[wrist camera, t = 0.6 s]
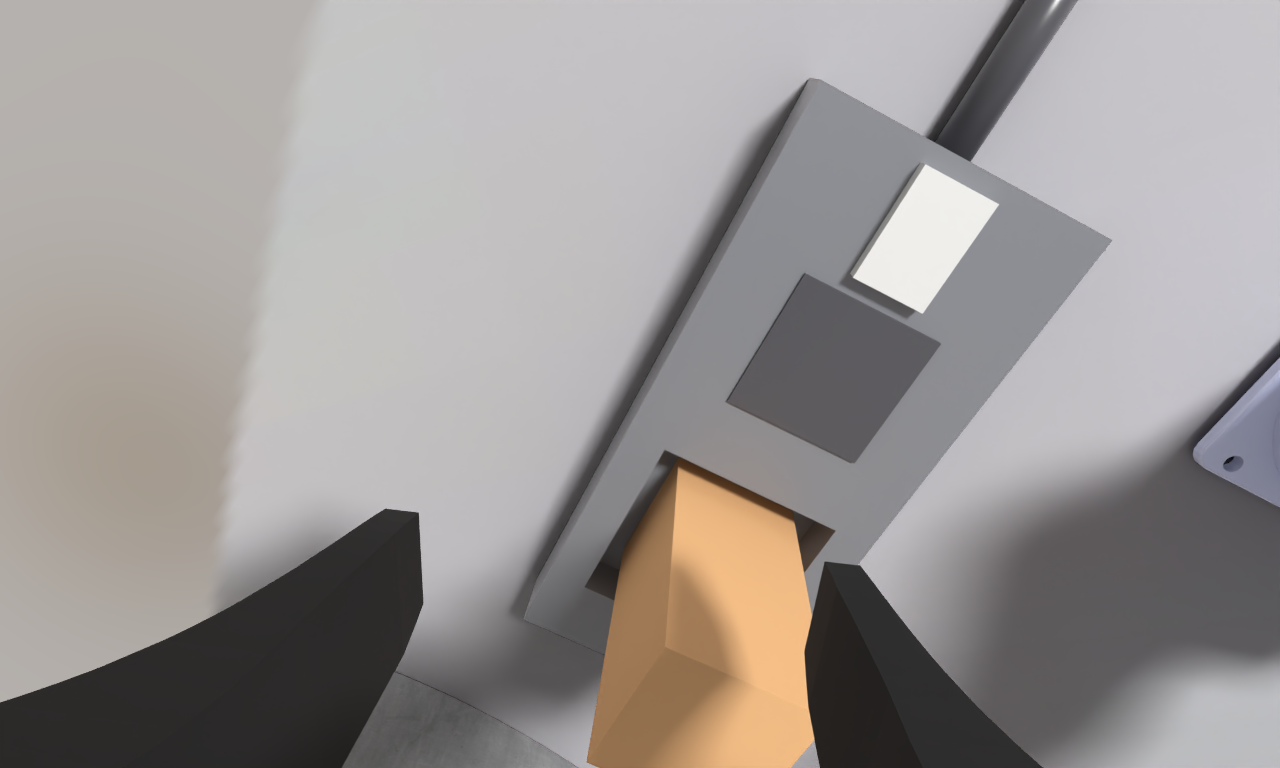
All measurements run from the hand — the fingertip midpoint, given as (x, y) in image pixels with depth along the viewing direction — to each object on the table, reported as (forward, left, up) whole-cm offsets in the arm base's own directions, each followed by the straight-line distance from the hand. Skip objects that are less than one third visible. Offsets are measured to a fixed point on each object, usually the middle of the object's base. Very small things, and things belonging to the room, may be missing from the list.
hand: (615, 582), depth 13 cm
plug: (-4, +4, -9) cm, 11 cm away
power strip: (-4, -3, -10) cm, 11 cm away
